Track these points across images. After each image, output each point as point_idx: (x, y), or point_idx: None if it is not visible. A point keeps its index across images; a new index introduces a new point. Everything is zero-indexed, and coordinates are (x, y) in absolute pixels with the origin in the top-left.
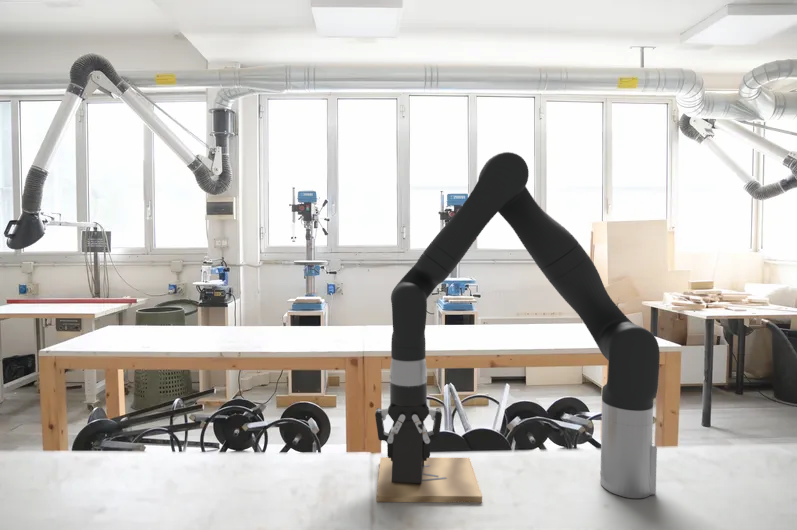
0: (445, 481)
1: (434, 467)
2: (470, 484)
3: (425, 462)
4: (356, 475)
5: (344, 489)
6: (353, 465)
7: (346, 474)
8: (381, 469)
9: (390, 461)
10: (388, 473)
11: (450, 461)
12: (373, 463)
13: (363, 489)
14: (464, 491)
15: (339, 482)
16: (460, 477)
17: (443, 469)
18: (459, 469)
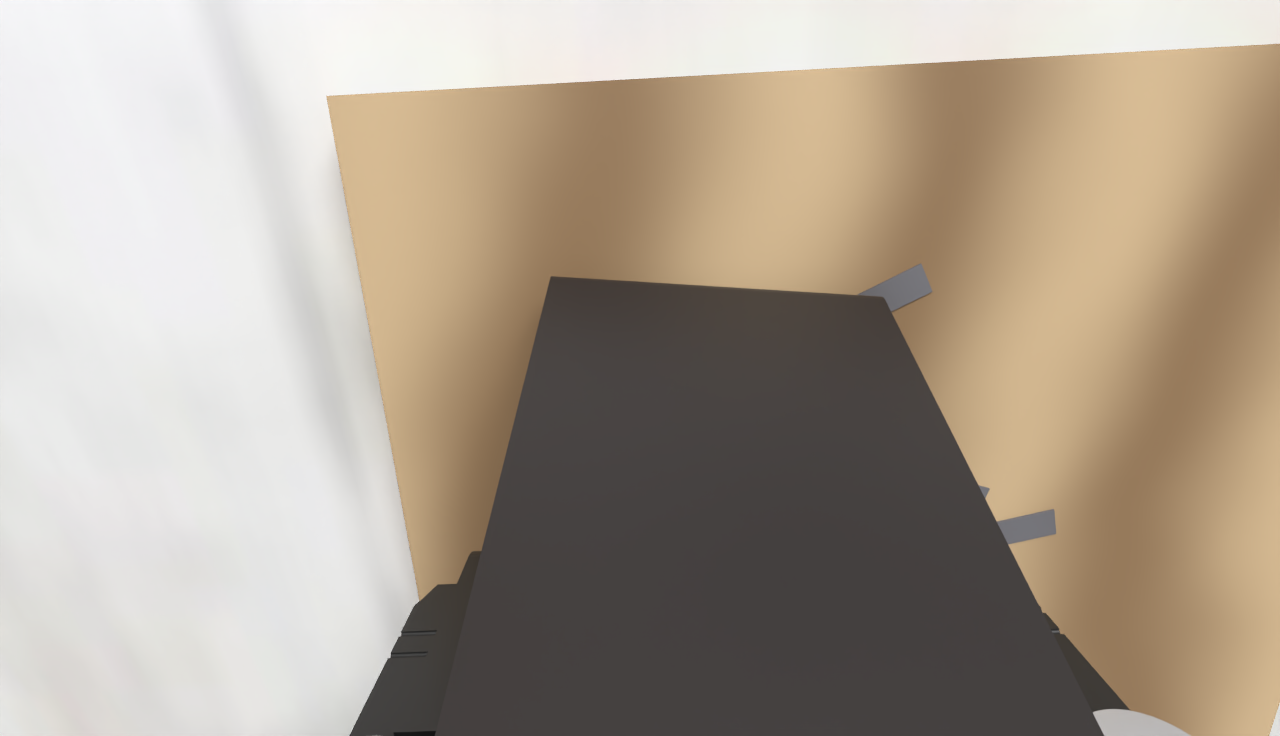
0: (1029, 575)
1: (976, 321)
2: (1240, 611)
3: (891, 210)
4: (187, 397)
5: (173, 614)
6: (73, 192)
7: (84, 385)
8: (404, 400)
9: (471, 206)
10: (491, 472)
11: (1203, 164)
12: (279, 127)
13: (325, 606)
14: (1148, 704)
15: (85, 520)
16: (1193, 504)
17: (1066, 360)
18: (1241, 351)
